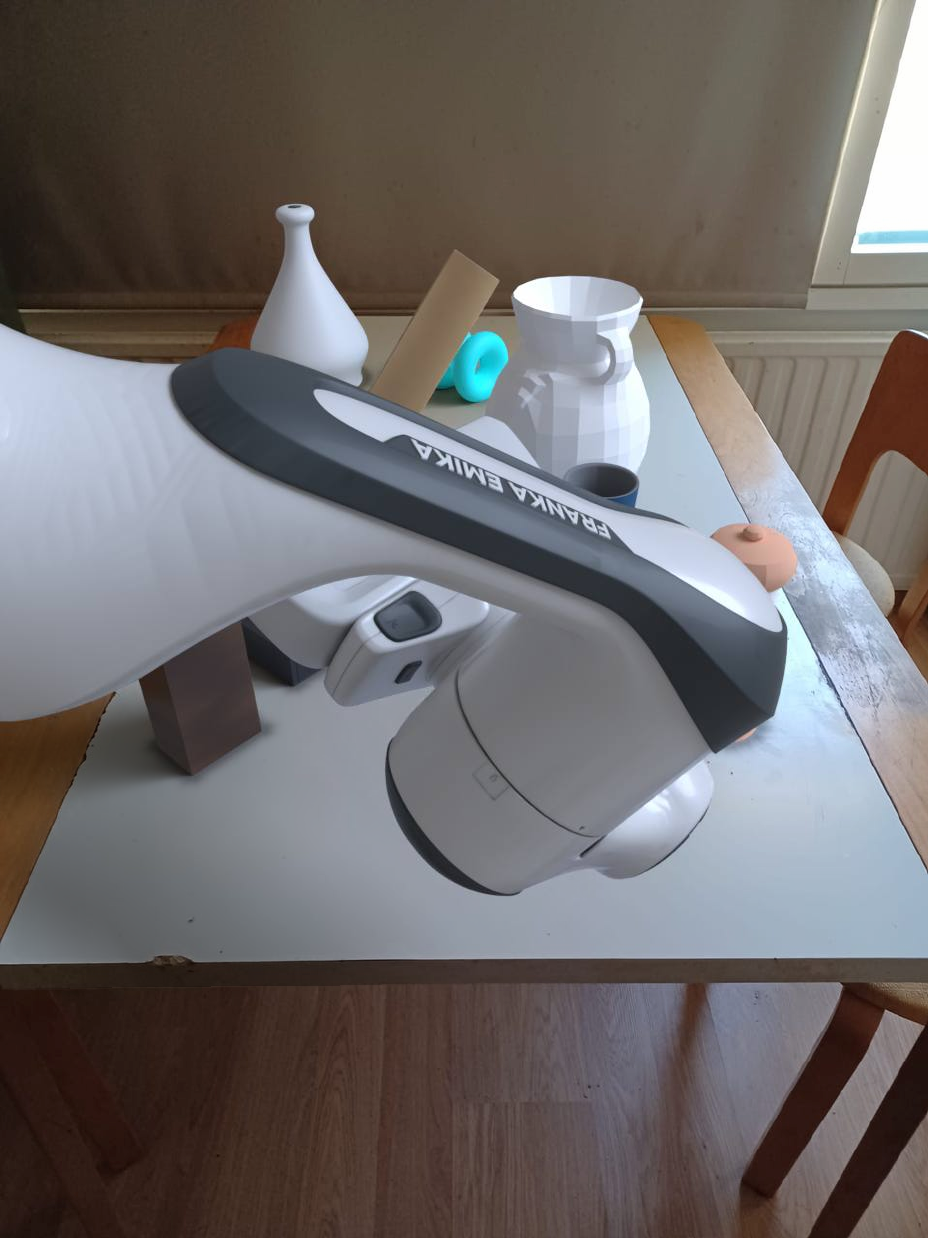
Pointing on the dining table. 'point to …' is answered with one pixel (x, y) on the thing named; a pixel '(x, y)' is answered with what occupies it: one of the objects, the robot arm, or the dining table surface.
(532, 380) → the pitcher
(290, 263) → the vase
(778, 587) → the pepper shaker
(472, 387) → the donuts
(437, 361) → the scrub brush
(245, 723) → the shelf post
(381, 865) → the dining table surface
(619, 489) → the cup
